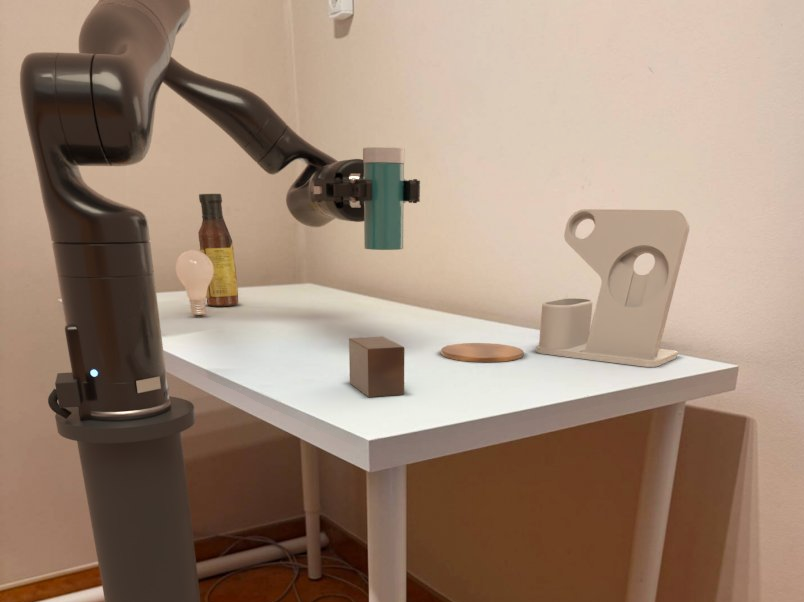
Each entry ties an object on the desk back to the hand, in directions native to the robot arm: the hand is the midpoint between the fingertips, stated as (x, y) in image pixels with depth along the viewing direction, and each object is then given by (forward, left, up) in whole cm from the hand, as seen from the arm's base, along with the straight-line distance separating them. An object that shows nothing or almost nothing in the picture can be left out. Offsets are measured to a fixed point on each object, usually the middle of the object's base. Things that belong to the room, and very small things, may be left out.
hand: (391, 190), depth 88 cm
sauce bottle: (-12, +65, -20) cm, 69 cm away
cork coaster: (+14, +2, -20) cm, 24 cm away
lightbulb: (-18, +50, -20) cm, 57 cm away
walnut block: (-6, -14, -20) cm, 25 cm away
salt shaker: (0, -1, -5) cm, 5 cm away
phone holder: (+30, -3, -20) cm, 36 cm away
